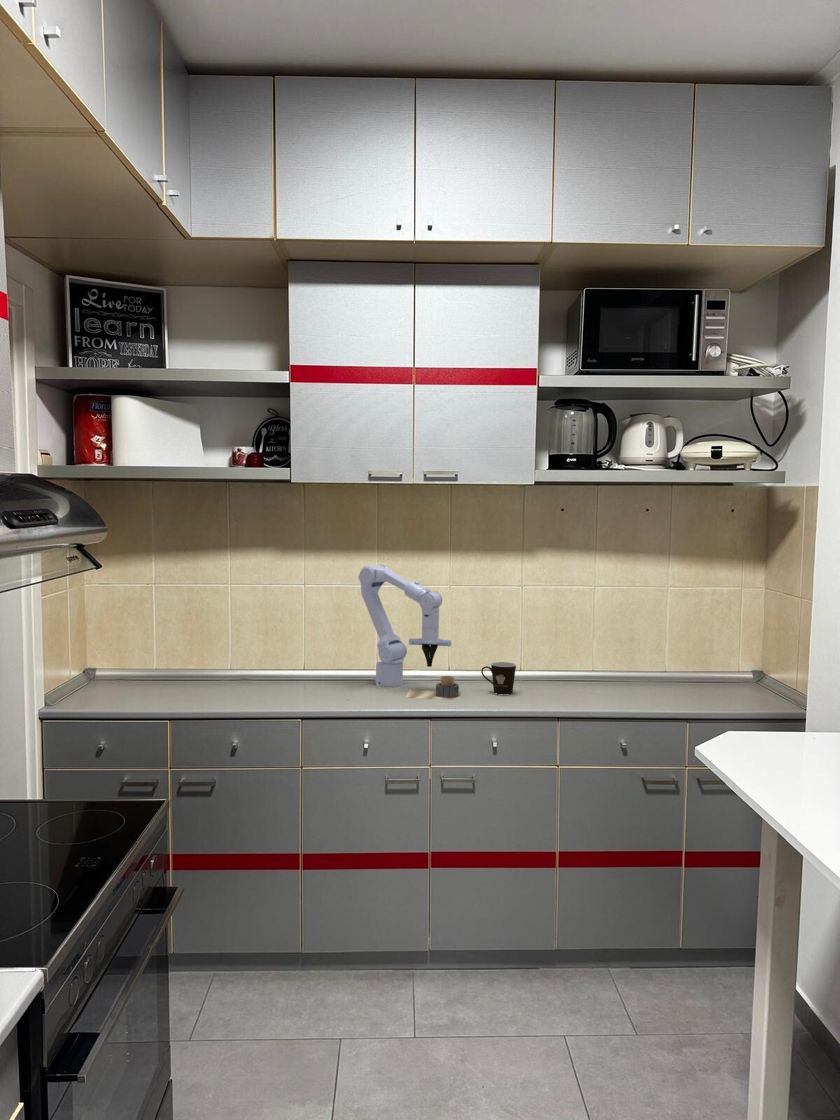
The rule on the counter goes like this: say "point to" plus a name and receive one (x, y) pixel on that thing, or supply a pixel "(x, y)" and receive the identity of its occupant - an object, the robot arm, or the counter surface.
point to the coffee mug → (502, 677)
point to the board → (428, 695)
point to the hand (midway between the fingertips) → (429, 666)
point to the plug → (447, 681)
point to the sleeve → (447, 691)
